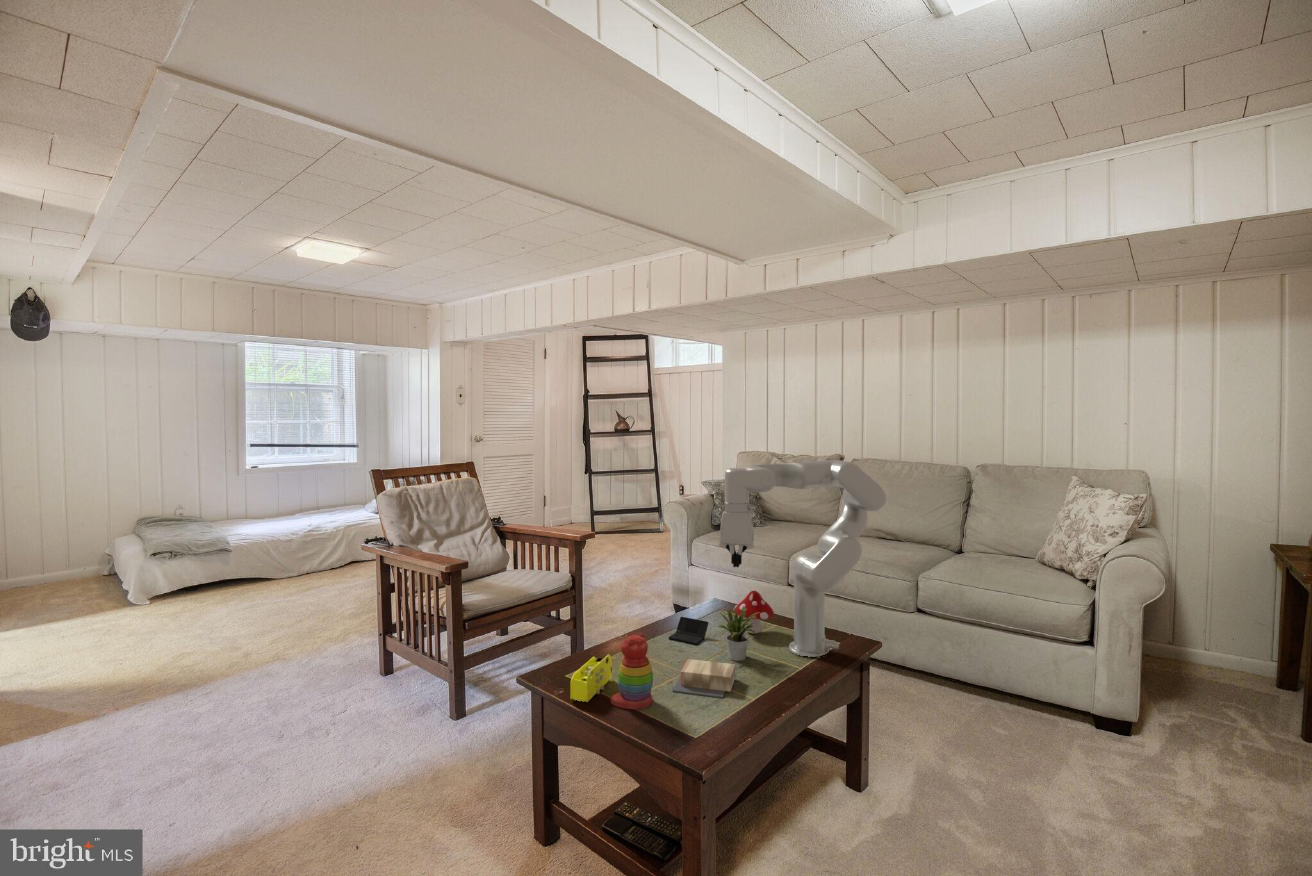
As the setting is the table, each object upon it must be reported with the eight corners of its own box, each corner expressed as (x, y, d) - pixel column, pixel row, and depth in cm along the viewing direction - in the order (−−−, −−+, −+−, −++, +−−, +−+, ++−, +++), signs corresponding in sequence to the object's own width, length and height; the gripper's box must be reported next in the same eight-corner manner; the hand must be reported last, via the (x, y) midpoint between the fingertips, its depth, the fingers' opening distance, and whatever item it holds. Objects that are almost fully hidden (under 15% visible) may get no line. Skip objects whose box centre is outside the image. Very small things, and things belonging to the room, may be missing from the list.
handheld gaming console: (666, 637, 206) (676, 609, 211) (670, 643, 212) (679, 616, 217) (698, 646, 202) (707, 618, 207) (702, 653, 208) (710, 625, 212)
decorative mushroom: (781, 638, 209) (781, 595, 208) (743, 642, 205) (744, 598, 205) (763, 624, 223) (763, 583, 222) (727, 627, 219) (728, 586, 218)
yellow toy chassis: (588, 705, 162) (588, 674, 161) (569, 702, 164) (569, 671, 163) (613, 680, 177) (613, 652, 176) (595, 677, 179) (595, 649, 178)
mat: (731, 673, 181) (731, 672, 181) (722, 698, 166) (722, 696, 166) (685, 668, 185) (685, 666, 185) (672, 691, 169) (672, 690, 169)
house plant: (760, 670, 183) (760, 616, 182) (714, 666, 186) (714, 613, 185) (761, 652, 197) (762, 602, 196) (718, 648, 200) (719, 599, 199)
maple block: (735, 664, 177) (687, 658, 181) (730, 677, 168) (680, 671, 172) (735, 677, 177) (687, 672, 181) (730, 691, 169) (680, 685, 172)
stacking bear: (633, 688, 171) (633, 626, 171) (661, 699, 165) (662, 634, 164) (606, 702, 163) (606, 637, 162) (635, 714, 157) (635, 646, 156)
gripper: (762, 507, 192) (761, 565, 193) (715, 505, 196) (714, 561, 197) (759, 511, 185) (759, 571, 186) (710, 508, 189) (710, 567, 190)
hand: (736, 566), depth 191 cm, fingers closed
